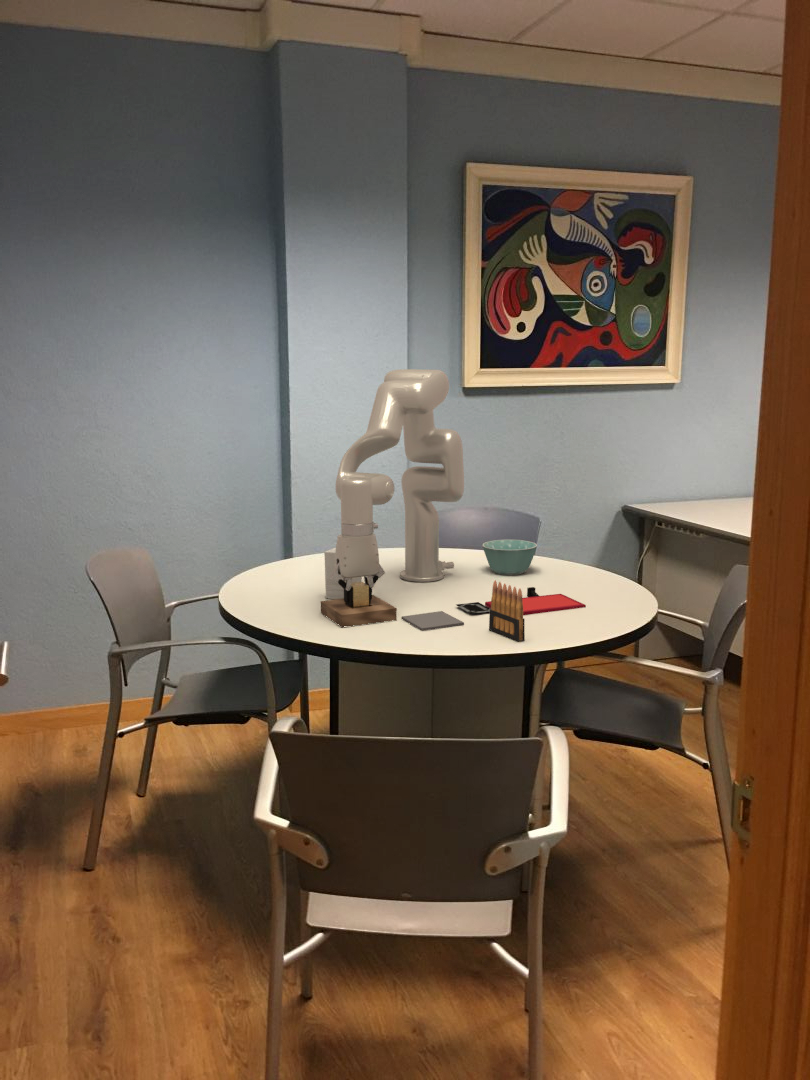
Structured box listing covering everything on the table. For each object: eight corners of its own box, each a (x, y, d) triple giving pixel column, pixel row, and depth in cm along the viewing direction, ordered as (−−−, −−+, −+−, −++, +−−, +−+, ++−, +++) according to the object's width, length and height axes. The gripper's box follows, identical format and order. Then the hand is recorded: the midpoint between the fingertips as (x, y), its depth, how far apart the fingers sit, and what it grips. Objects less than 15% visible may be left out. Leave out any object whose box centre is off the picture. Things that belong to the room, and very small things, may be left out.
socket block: (372, 606, 233) (372, 594, 233) (396, 620, 221) (396, 608, 220) (320, 612, 227) (320, 601, 227) (342, 627, 215) (341, 615, 214)
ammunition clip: (488, 630, 213) (489, 579, 210) (495, 629, 214) (495, 578, 211) (518, 642, 204) (519, 589, 201) (524, 641, 205) (526, 588, 202)
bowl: (471, 572, 269) (471, 544, 267) (502, 563, 281) (502, 536, 279) (516, 580, 259) (516, 552, 257) (546, 571, 271) (547, 543, 269)
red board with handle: (451, 606, 234) (479, 622, 220) (452, 595, 233) (480, 611, 220) (552, 595, 245) (585, 610, 232) (553, 585, 245) (586, 599, 231)
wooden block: (362, 613, 227) (362, 581, 225) (369, 617, 223) (368, 585, 222) (347, 615, 225) (346, 583, 223) (353, 619, 221) (353, 587, 220)
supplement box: (362, 595, 244) (362, 548, 242) (349, 601, 238) (348, 553, 235) (338, 592, 247) (337, 545, 245) (324, 598, 241) (323, 551, 238)
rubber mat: (441, 613, 227) (441, 611, 226) (463, 624, 217) (463, 622, 217) (401, 618, 222) (401, 616, 222) (422, 630, 212) (422, 628, 212)
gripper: (382, 524, 227) (383, 596, 230) (318, 529, 219) (320, 604, 223) (395, 529, 220) (395, 603, 224) (329, 535, 213) (331, 612, 216)
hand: (358, 603), depth 223 cm, fingers closed on wooden block, 4 cm apart
